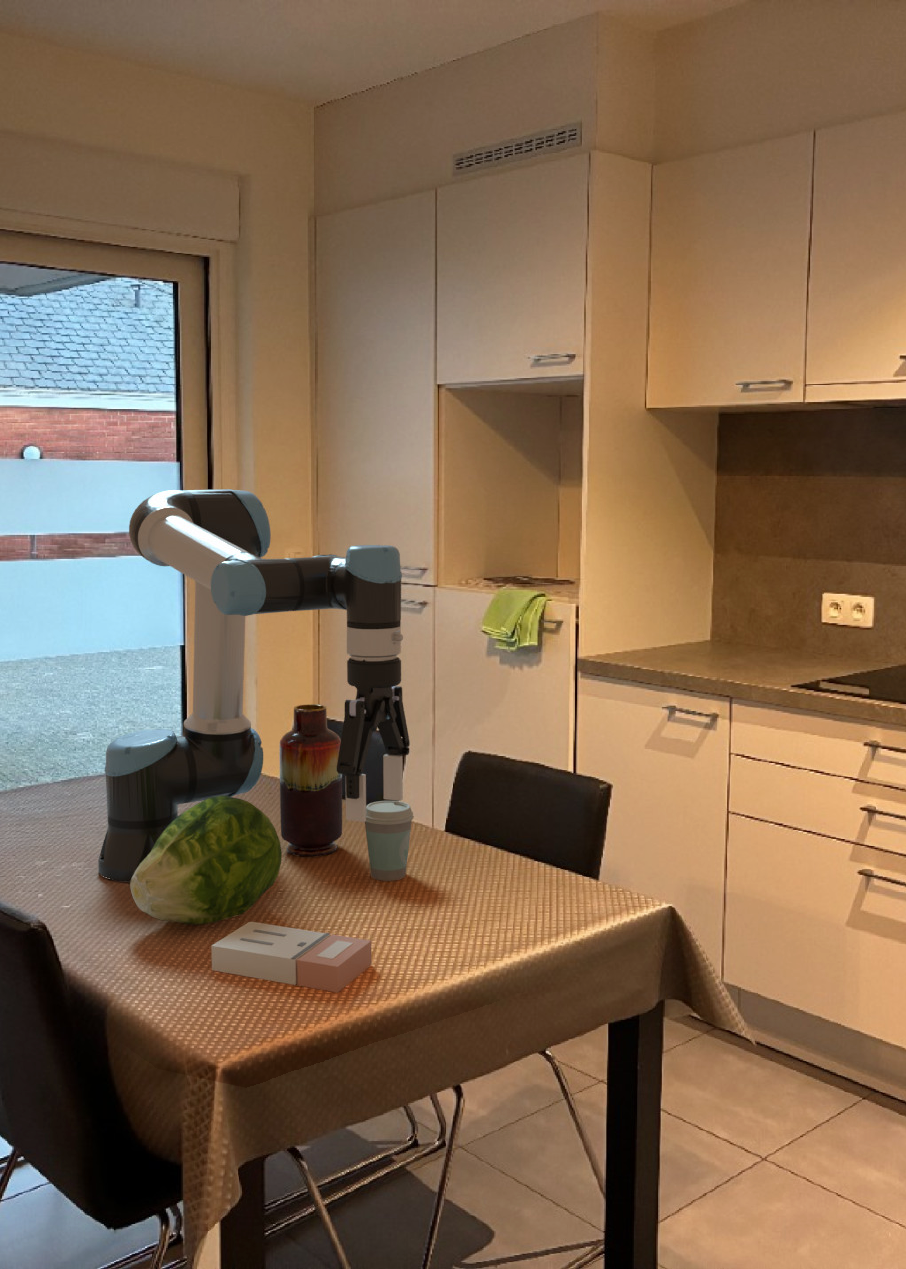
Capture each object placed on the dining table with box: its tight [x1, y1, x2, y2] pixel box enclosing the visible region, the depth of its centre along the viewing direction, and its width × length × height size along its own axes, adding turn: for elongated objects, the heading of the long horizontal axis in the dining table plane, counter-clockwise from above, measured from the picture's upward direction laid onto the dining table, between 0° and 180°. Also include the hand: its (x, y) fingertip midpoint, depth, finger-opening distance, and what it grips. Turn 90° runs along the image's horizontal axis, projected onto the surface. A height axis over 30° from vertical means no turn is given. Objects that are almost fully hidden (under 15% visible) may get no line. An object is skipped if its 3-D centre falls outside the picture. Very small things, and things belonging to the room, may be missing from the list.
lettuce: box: [129, 796, 283, 926], centre depth 189 cm, size 19×23×18 cm
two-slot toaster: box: [210, 921, 332, 986], centre depth 172 cm, size 13×10×4 cm
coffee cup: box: [364, 800, 415, 882], centre depth 210 cm, size 8×8×12 cm
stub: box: [297, 933, 372, 993], centre depth 169 cm, size 6×10×4 cm, turn 158°
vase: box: [278, 703, 343, 858], centre depth 224 cm, size 11×11×26 cm
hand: (375, 809), depth 176 cm, fingers open, 11 cm apart
